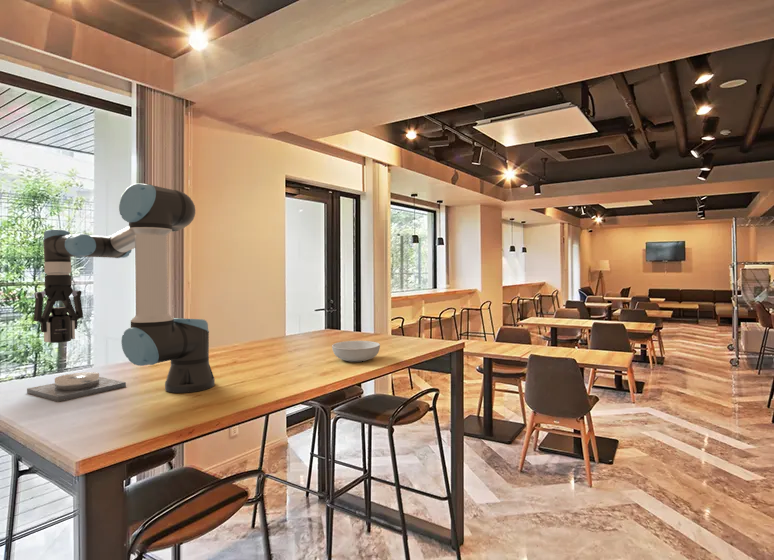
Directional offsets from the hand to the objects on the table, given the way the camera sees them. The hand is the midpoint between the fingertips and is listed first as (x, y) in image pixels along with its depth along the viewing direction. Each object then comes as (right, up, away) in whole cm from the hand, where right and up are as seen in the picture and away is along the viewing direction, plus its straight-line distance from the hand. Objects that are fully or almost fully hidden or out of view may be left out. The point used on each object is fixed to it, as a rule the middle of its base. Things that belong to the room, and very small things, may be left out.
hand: (59, 340), depth 155 cm
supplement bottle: (0, -1, 0) cm, 1 cm away
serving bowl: (+101, -14, +38) cm, 109 cm away
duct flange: (+13, -15, -9) cm, 22 cm away
